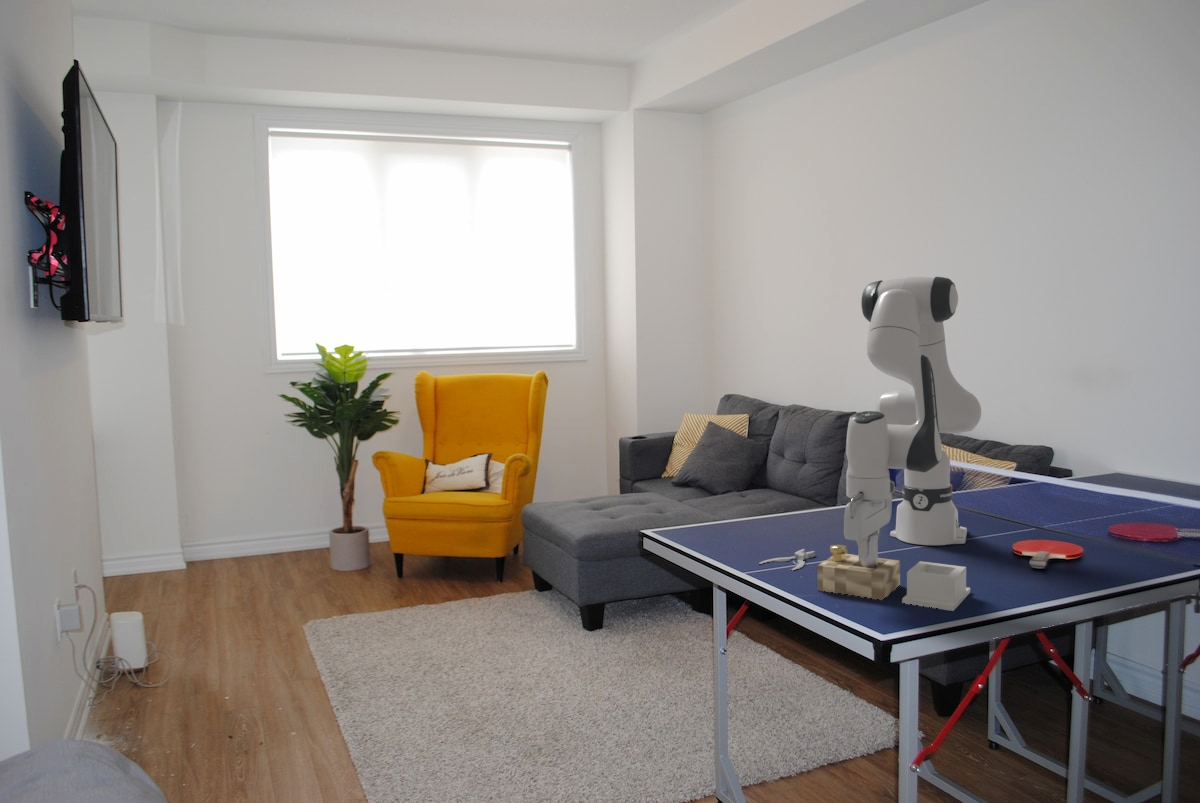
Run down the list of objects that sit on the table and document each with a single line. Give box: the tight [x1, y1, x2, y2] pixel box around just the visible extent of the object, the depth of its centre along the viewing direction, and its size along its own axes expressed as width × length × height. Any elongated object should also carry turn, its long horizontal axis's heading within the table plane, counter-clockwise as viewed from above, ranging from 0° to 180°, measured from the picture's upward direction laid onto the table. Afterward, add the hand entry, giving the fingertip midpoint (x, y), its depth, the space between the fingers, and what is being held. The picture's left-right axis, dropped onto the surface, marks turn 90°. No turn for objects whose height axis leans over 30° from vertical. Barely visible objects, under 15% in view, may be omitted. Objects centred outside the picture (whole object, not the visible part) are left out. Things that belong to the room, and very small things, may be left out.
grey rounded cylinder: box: [857, 533, 879, 569], centre depth 194 cm, size 4×4×12 cm
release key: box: [829, 544, 848, 562], centre depth 198 cm, size 4×4×8 cm
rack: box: [901, 560, 971, 612], centre depth 187 cm, size 14×10×6 cm
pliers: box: [758, 548, 816, 572], centre depth 219 cm, size 10×2×15 cm
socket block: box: [816, 553, 901, 601], centre depth 196 cm, size 12×14×6 cm
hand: (868, 552), depth 194 cm, fingers closed on grey rounded cylinder, 4 cm apart
